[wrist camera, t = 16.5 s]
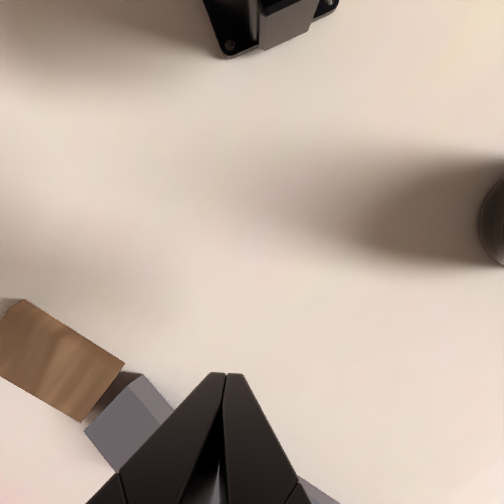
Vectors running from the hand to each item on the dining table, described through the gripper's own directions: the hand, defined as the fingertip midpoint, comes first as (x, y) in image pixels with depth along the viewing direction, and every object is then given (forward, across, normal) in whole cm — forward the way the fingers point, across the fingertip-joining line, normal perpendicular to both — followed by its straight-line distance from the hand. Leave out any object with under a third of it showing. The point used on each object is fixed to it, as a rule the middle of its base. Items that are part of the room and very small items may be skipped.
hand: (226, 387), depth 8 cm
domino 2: (+12, +9, +11) cm, 18 cm away
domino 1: (+12, +16, +6) cm, 21 cm away
